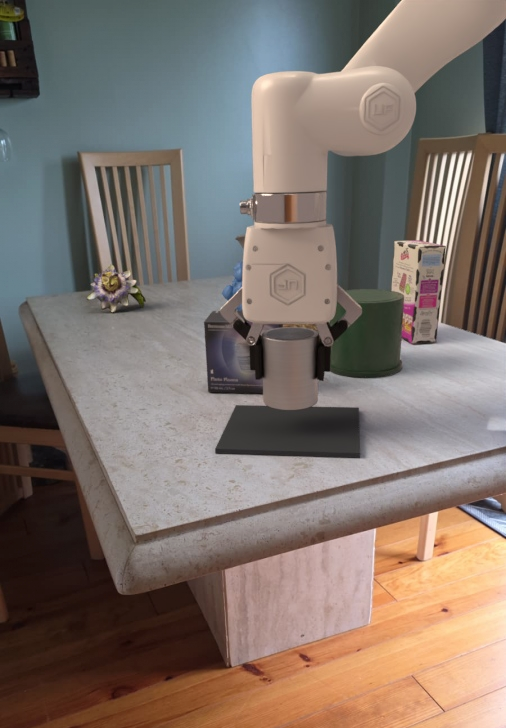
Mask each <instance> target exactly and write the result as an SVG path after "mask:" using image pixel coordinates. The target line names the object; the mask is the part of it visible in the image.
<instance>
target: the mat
mask: <svg viewBox="0 0 506 728" xmlns="http://www.w3.org/2000/svg"><path fill="white" fill-rule="evenodd" d="M360 435H361V433H360V408H359V407H357V406H356V407H352V406H312V407H309V408H305V409H300V410H280V409H275V408H271V407H269V406H267V405H252V404H251V405H250V404H246V405H245V404H236V405H235V406H234V408H233V410H232V413H231V414H230V417H229V419H228V421H227V423H226V426H225V427H224V429H223V431H222V434H221V435H220V438H219V440H218V442H217V444H216V446H215V447H214V453H215V454H223V455H224V454H225V455H229V454H230V455H257V456H259V455H261V456H264V455H265V456H288V457H289V456H292V457H293V456H294V457H320V458H321V457H322V458H323V457H324V458H325V457H326V458H352V459H353V458H356V459H357V458H358V459H359V458H361V438H360V437H361V436H360Z"/></svg>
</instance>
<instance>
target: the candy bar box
mask: <svg viewBox="0 0 506 728" xmlns="http://www.w3.org/2000/svg"><path fill="white" fill-rule="evenodd" d="M393 243H394V244H393V245H394V247H393V261H392V276H391V278H392V279H391V290H390V291H395V292H399V293H401V294H403V295H404V308H403V323H402V338H401V339H402V340H404V341H406V342H407V343H410V344H411V345H420V344H433V343H437V339H438V330H439V329H438V328H439V319H440V307H441V299H442V298H441V297H442V289H443V288H442V287H443V279H444V268H445V259H446V249H447V245H443V244H439V243H433V242H428V241H424V240H417V239H414V240H413V239H411V240H410V239H409V240H408V239H407V240H395V241H394V242H393Z"/></svg>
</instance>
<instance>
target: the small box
mask: <svg viewBox="0 0 506 728" xmlns="http://www.w3.org/2000/svg"><path fill="white" fill-rule="evenodd" d="M237 313H238V314H239V315H240V316H241V317H242V318H244V315H243V311H237ZM244 319H245V318H244ZM245 320H246V319H245ZM246 321H247V322H248V323H249V324H250V325H251V326H252V324H253V323H252V322H250V321H248V320H246ZM275 328H283V324H265V325H264V327H263V329H262V332H261V334H260V335H261V336H262V333H263V332H265V331H267V330H270V329H275ZM203 330H204V342H205V343H204V344H205V359H206V363H205V364H206V376H207V377H206V379H207V381H206V382H207V392H208V393H225V394H226V393H227V394H228V393H229V394H230V393H232V394H263V377H262V379H260V380H256V379H255V370H250V347H249V345H248V344H247V342H246V340H245V339H244V338H243V337H242V336H241V335H240V334H239V333H238V332H237V331H236V330H235V329H234V328H233V326H232V325H231V324H230V323H229V322H228V321H227V320H226V319H225V318H224V317H223V316H222V315H221V314H220V310H212V311H211V312H210V313H209V315H208V316H207V317H206V318H205V319H204V321H203Z"/></svg>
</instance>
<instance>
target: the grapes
mask: <svg viewBox="0 0 506 728" xmlns="http://www.w3.org/2000/svg"><path fill="white" fill-rule="evenodd" d="M233 271H234V273H233V275H232V276H233V277H234V278H233V280H232V281H231V284H228V285H226V286H225V287H224V288H223V290H222V291H221V295H222V296H223V298H224V299H225V300H226V301H227V302H228V301H229V300H230V299H231V298H232V297H233V296H234V295H235V294H236V293H237V292H238V291H239V290H240V289H241V288H242V274H243V260H239V261H237V263H236V264H235V266H234V267H233ZM242 310H243V309H242V303H241V304H240V305H239V306H238V307H237V311H242Z"/></svg>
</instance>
